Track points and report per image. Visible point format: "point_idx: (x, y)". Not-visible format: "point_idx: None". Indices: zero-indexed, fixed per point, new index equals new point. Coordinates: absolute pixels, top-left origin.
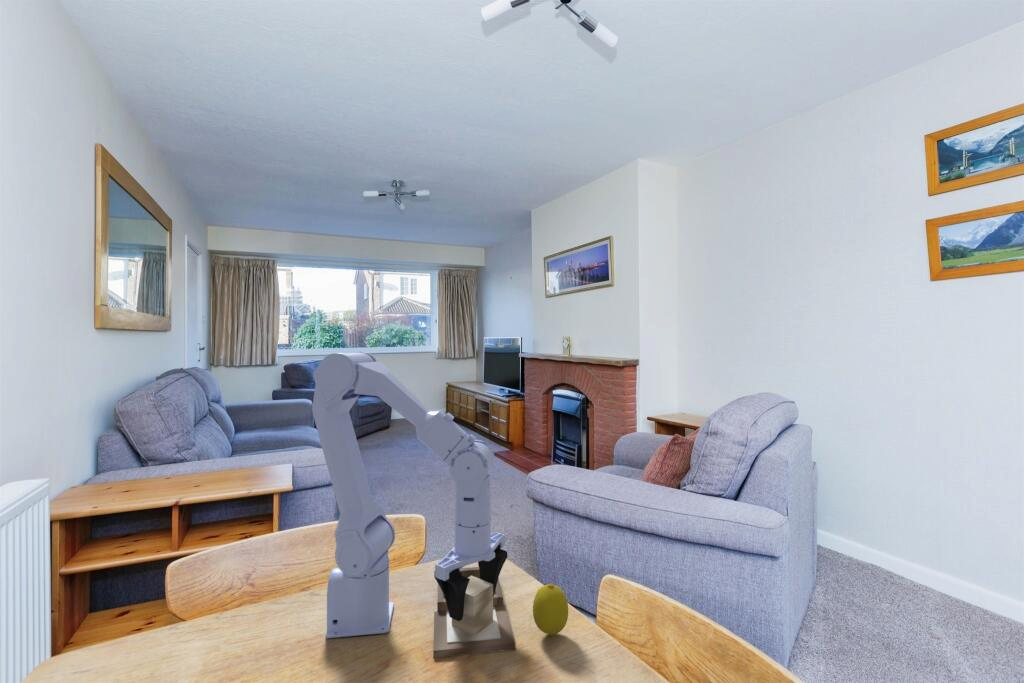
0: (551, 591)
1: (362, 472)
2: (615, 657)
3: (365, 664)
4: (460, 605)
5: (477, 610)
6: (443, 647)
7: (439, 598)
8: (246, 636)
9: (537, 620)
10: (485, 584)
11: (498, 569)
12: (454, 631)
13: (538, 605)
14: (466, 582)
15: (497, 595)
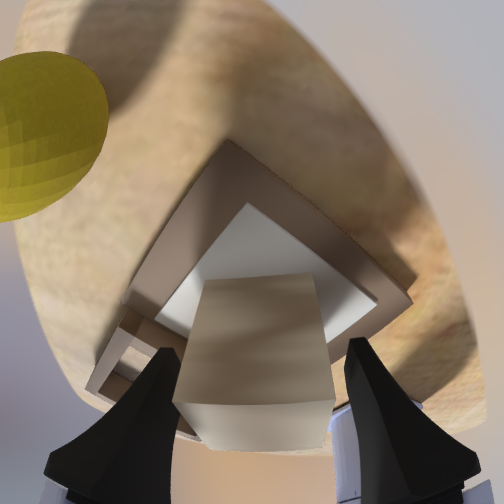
0: None
1: None
2: None
3: (455, 346)
4: (394, 383)
5: (300, 337)
6: (392, 297)
7: None
8: (436, 424)
9: (98, 121)
10: (204, 416)
11: (111, 437)
12: (327, 323)
13: (46, 136)
14: (435, 479)
15: (129, 340)
